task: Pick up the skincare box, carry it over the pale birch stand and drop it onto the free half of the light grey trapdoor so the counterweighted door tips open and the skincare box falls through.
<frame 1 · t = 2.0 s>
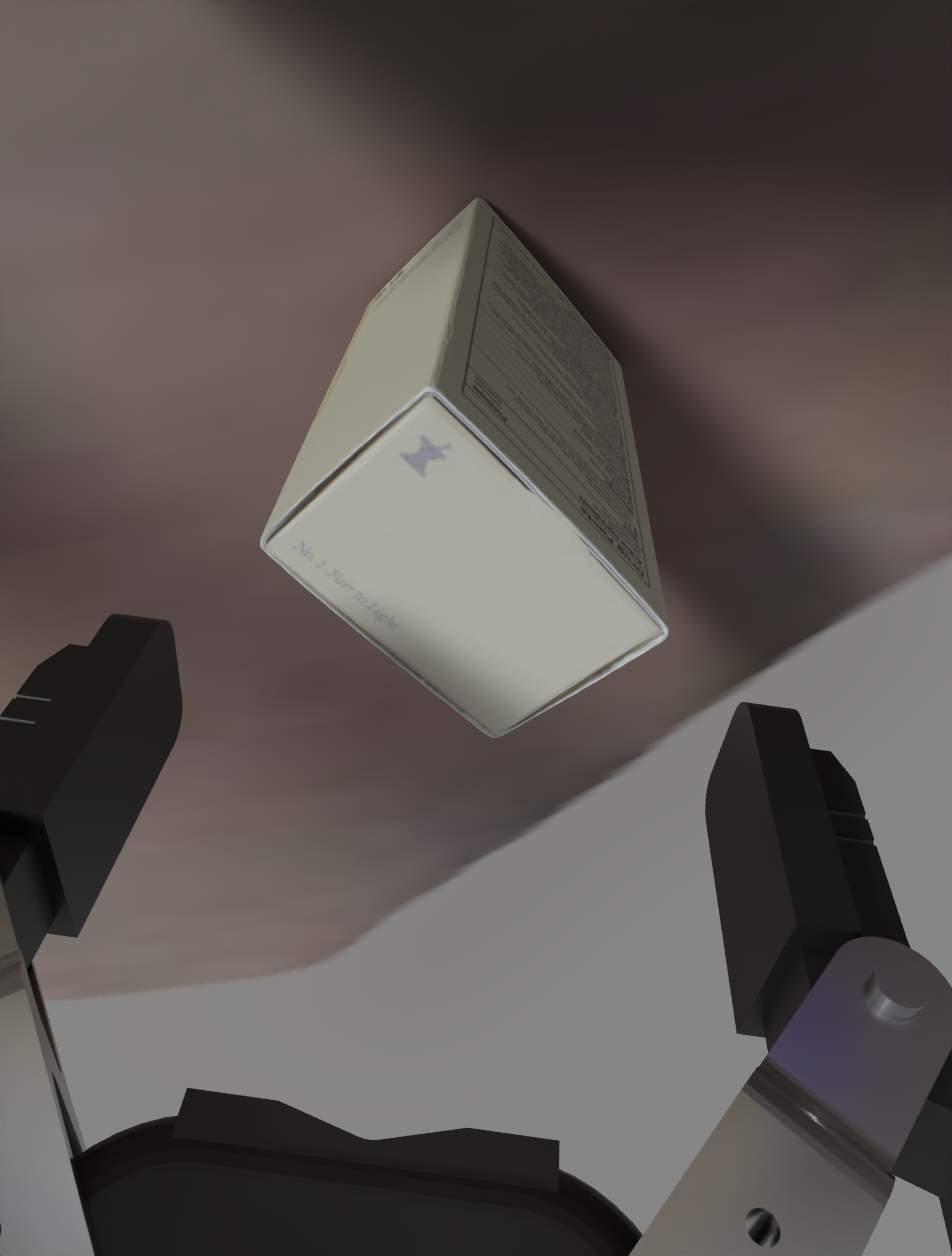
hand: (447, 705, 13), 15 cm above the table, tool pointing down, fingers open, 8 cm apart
skincare box: (503, 334, 25), on the table
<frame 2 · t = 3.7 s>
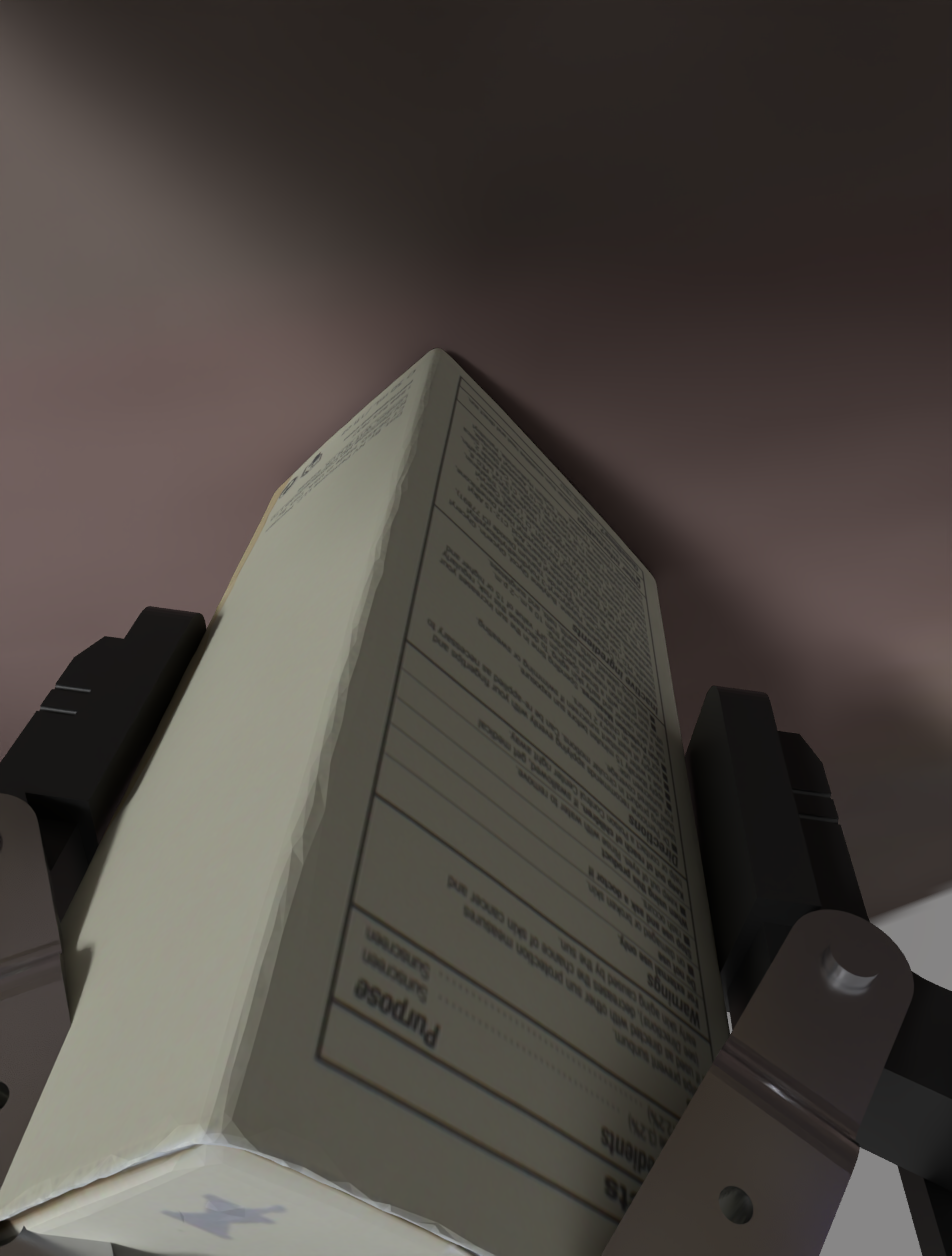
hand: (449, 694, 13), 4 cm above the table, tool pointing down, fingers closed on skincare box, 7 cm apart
skincare box: (479, 530, 17), on the table, touching gripper
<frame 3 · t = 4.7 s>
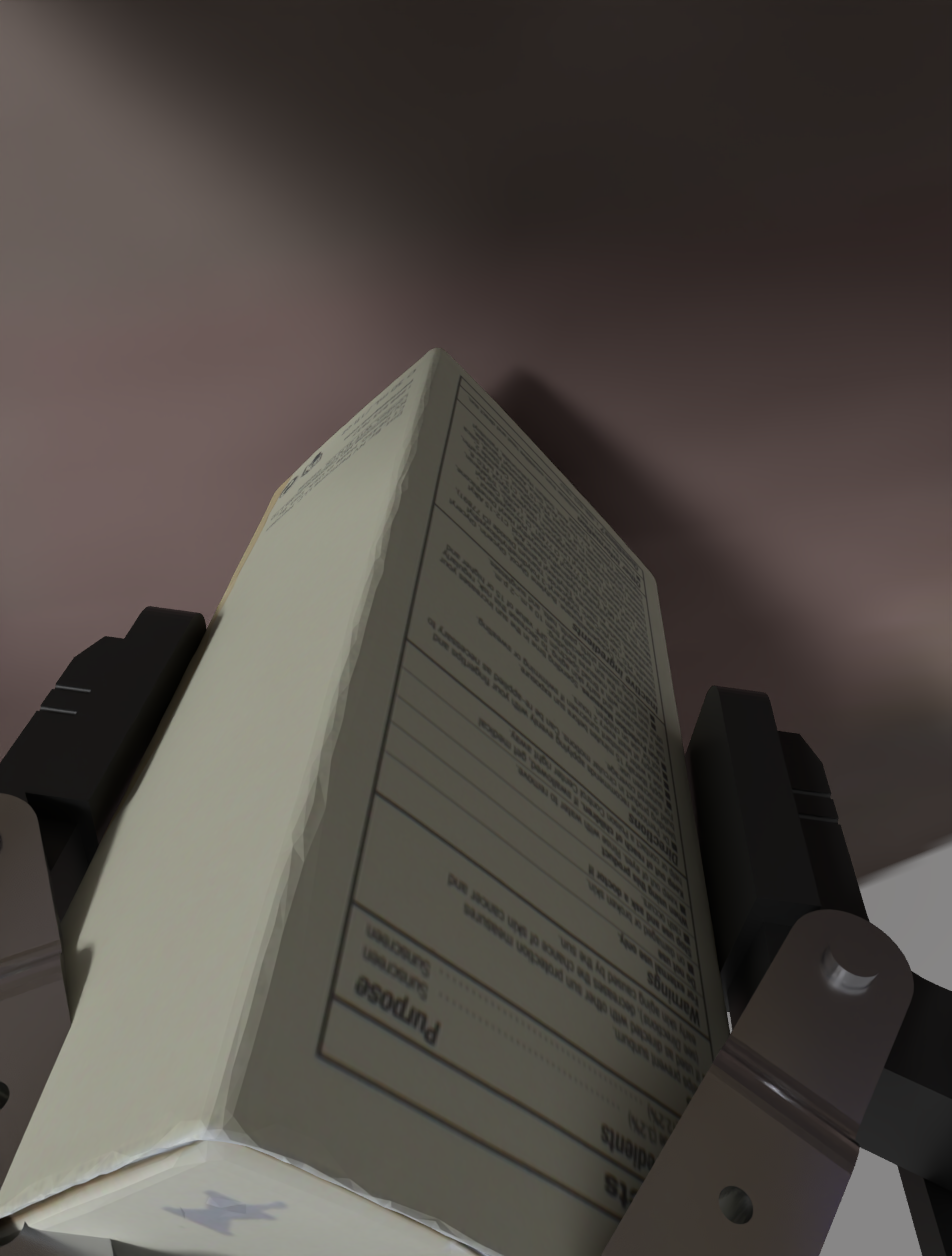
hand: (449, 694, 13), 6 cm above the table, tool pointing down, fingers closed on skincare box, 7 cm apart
skincare box: (479, 530, 17), point 1 cm above the table, touching gripper
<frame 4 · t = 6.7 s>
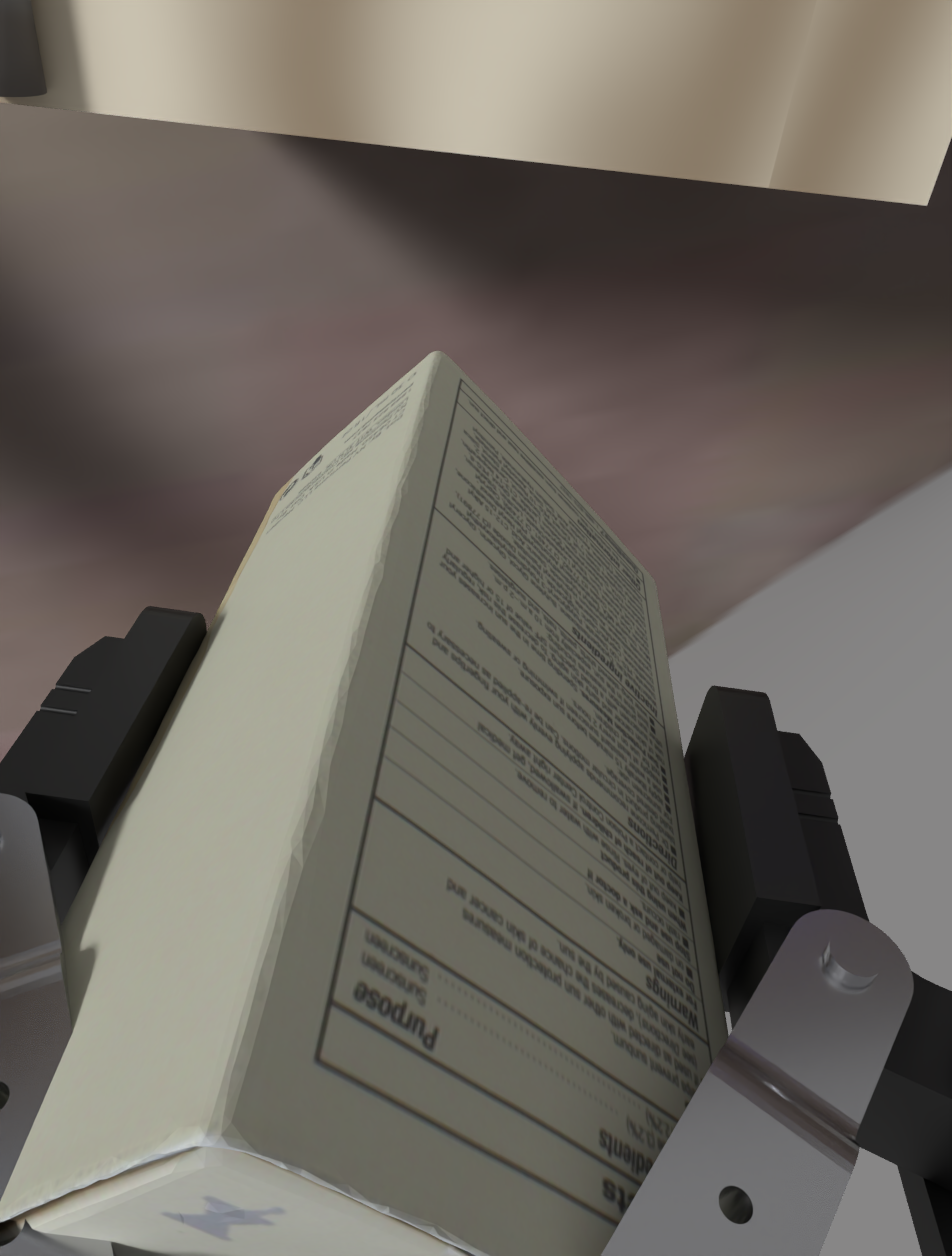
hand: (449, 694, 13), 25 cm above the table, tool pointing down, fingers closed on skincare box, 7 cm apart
skincare box: (479, 532, 17), point 21 cm above the table, touching gripper
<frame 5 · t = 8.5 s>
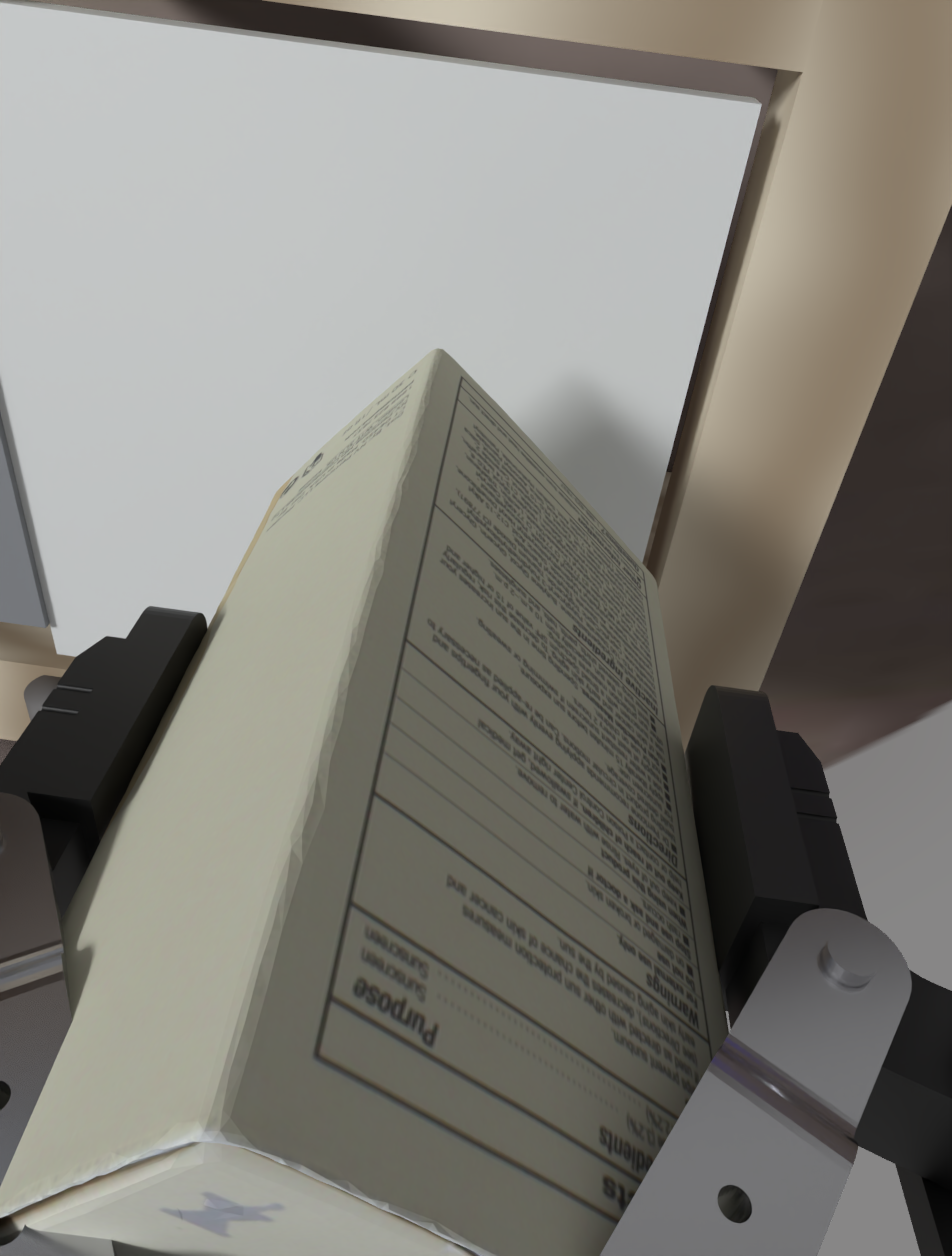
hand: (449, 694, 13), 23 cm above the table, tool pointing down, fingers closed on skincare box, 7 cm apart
trapdoor: (242, 383, 21), point 14 cm above the table, hinge at 0.0°
skincare box: (480, 530, 17), point 19 cm above the table, touching gripper
trapdoor stand: (430, 240, 31), on the table
when the fingers open (23 cm above the table, at t = 9.1 s): skincare box drops 4 cm, resting on trapdoor.
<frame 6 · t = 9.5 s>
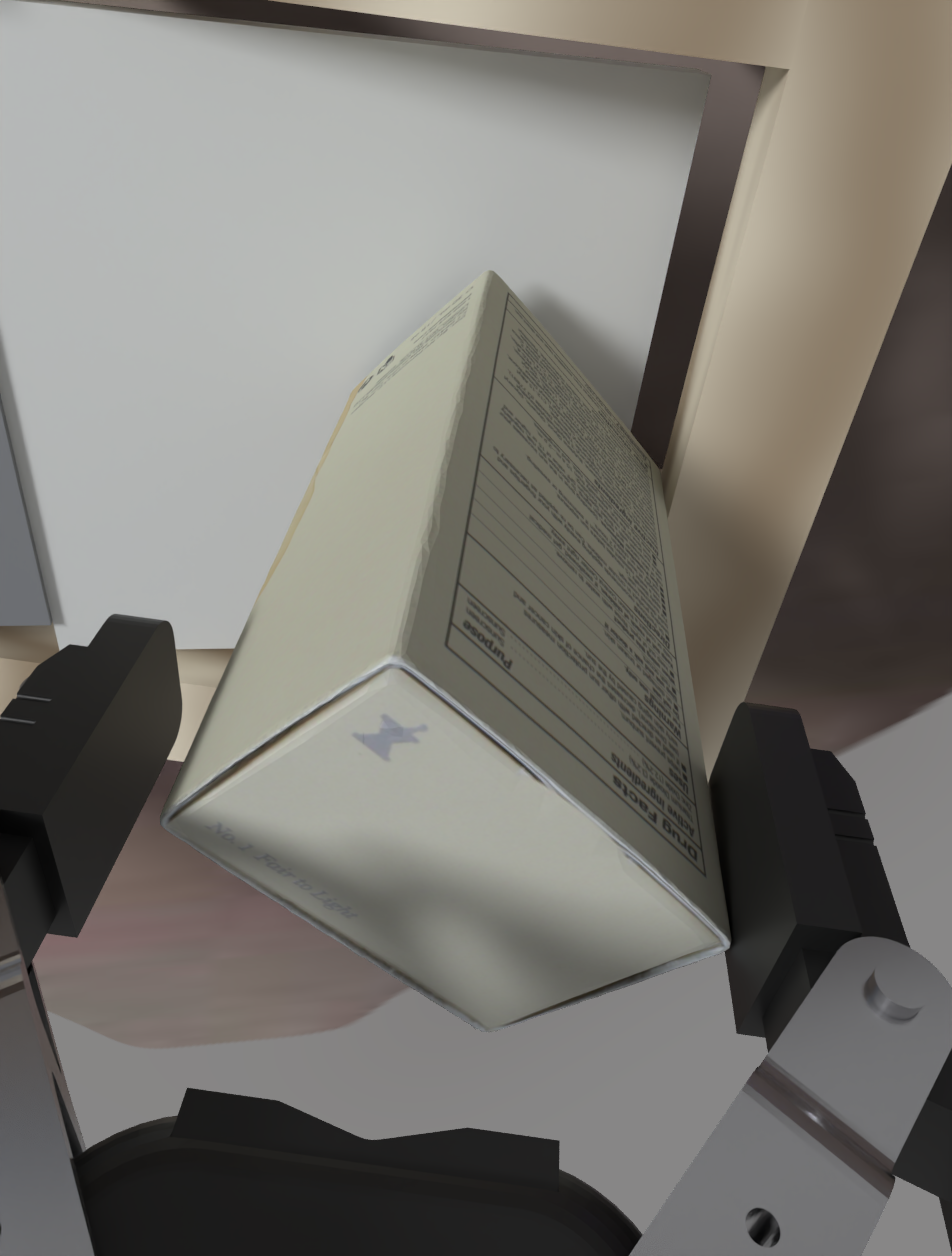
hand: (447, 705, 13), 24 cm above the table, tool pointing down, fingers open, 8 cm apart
trapdoor: (228, 360, 22), point 13 cm above the table, hinge at -13.9°, touching skincare box
skincare box: (516, 427, 20), point 14 cm above the table, touching gripper, trapdoor
trapdoor stand: (423, 238, 32), on the table
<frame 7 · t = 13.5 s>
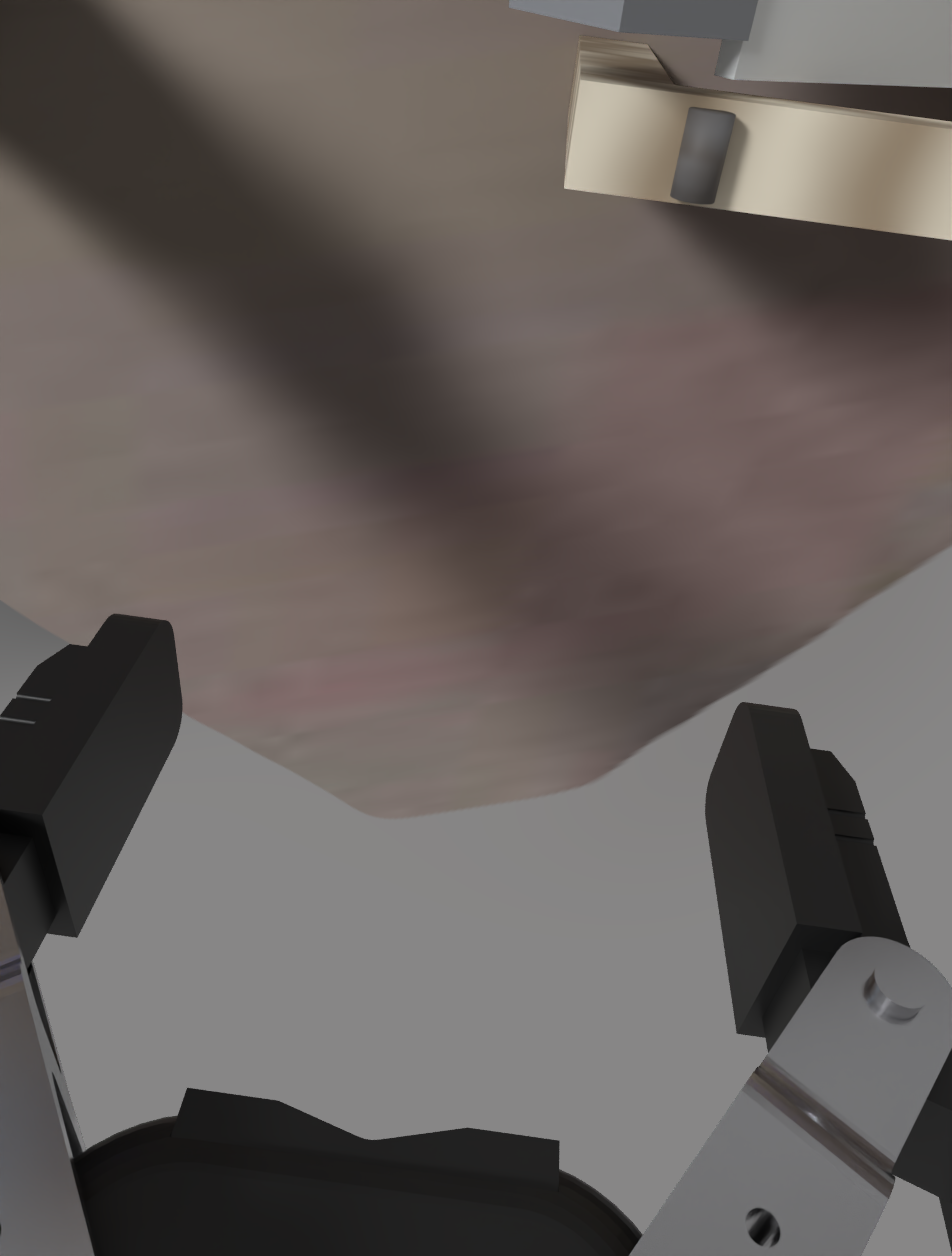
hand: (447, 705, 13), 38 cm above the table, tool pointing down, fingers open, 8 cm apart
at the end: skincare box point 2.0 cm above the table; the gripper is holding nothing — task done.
